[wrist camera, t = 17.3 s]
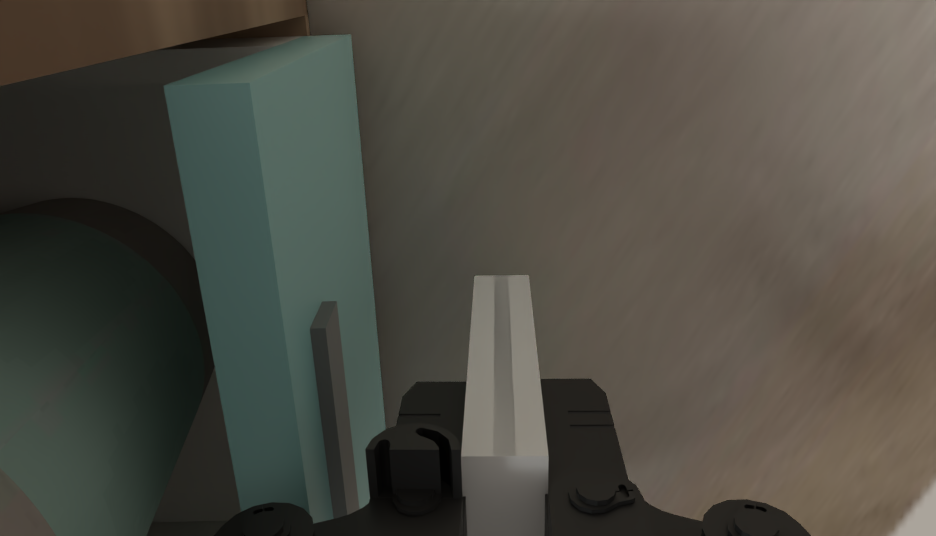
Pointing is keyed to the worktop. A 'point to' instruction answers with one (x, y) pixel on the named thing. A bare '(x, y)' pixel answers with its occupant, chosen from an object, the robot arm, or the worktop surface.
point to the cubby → (128, 29)
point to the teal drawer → (235, 249)
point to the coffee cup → (94, 367)
